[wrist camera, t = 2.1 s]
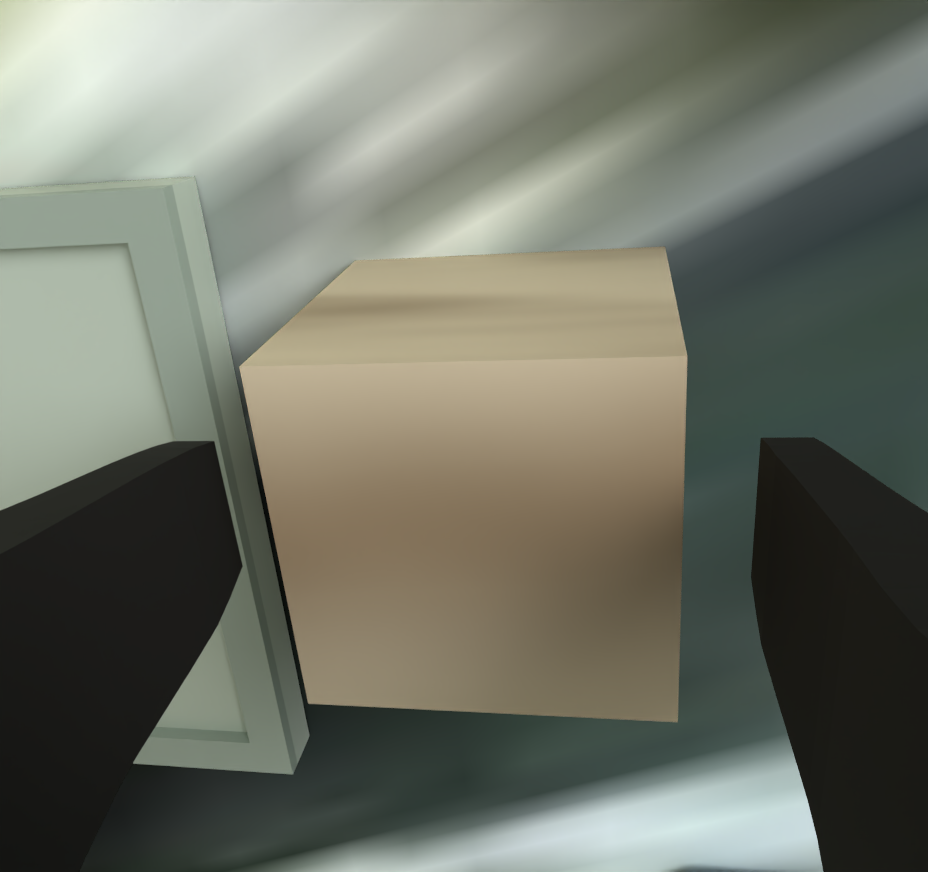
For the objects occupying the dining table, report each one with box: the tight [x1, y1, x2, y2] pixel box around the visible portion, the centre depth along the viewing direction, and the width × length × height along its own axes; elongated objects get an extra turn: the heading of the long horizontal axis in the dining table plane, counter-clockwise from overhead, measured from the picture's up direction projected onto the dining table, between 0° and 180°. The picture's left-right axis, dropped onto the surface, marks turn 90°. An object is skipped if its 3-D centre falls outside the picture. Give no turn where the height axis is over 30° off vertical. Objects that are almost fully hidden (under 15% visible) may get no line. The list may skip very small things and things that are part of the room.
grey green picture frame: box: [0, 176, 310, 774], centre depth 17 cm, size 12×10×1 cm
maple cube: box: [239, 247, 687, 722], centre depth 13 cm, size 5×5×5 cm
